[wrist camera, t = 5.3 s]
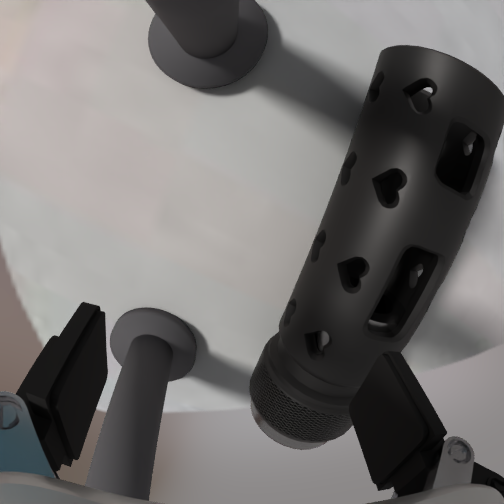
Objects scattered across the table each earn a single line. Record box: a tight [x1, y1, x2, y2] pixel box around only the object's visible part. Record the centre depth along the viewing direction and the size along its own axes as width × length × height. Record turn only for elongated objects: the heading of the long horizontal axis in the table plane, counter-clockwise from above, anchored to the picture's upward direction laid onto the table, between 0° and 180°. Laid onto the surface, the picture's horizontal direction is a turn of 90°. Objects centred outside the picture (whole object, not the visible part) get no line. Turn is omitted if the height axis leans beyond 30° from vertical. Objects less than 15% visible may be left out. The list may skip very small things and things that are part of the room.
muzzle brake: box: [250, 45, 504, 450], centre depth 21 cm, size 10×28×10 cm, turn 162°
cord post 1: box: [85, 308, 196, 501], centre depth 17 cm, size 8×8×24 cm
